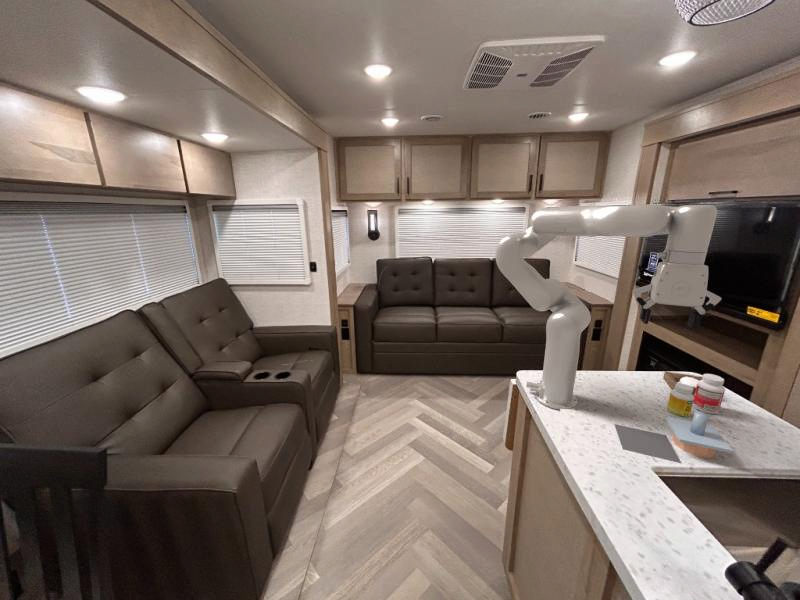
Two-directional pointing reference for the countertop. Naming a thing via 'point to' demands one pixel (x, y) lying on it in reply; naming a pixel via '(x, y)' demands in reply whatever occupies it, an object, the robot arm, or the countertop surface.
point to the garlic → (689, 381)
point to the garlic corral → (677, 379)
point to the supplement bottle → (681, 400)
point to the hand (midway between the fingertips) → (667, 325)
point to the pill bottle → (709, 394)
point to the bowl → (694, 449)
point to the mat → (646, 443)
